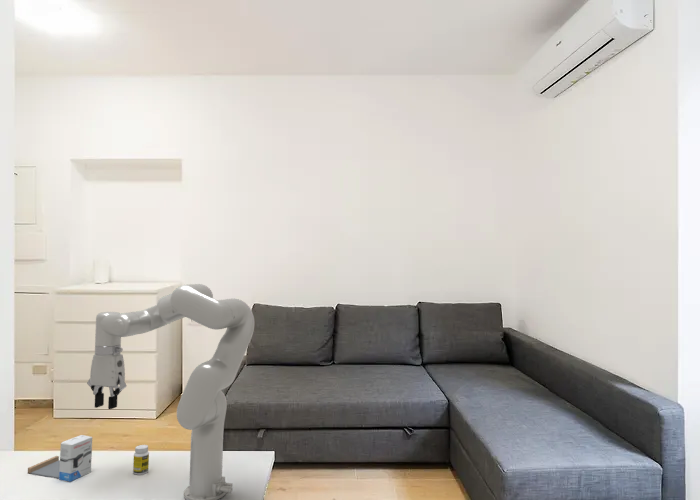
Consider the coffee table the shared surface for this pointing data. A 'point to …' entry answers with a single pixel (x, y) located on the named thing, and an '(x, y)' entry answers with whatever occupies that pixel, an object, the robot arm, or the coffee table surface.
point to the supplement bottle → (141, 460)
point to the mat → (46, 468)
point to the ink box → (75, 458)
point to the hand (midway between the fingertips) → (105, 406)
